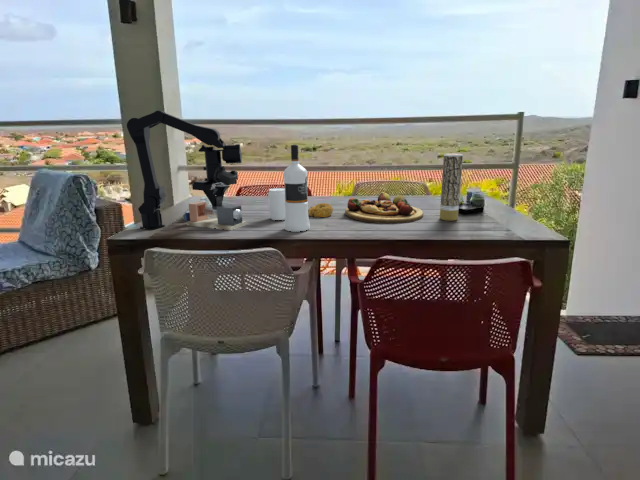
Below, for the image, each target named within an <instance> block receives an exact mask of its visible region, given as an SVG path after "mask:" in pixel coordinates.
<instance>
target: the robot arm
mask: <svg viewBox="0 0 640 480" xmlns="http://www.w3.org/2000/svg"><path fill="white" fill-rule="evenodd" d="M159 124H163V125H165V126H168V127H171V128H173V129H176V130H179V131H181V132H184V133H186V134H188V135H191V136H193V137H194V138H196V139H197V140H199V141H200V142H202V143H203V144H202V145H201V147H200V148H199V149H198V152H200V153H203V152H204V161H205V163H204V164H205V166H203V171H205V172H206V173H205V174H206V177H204V180H196V181H193V182H192V184H191V187H192V190H193V191H203V193H204V195H205V196H207V198H208V199H209V201H210V202H211V204H212V205H211V207H212V206H213V207H215V206H216V196H222V202H223V201H224V196H225V193H226V191H227V190H228V189H229V188H230V187H231V186H233V185H236V184H238V182H237V180H238V179H239V174H238V171H237V170H234V169H233V170H231V171H226V167H225V166H224V165H222V164H223V163H222V162H225V164H227V165H228V164H242V163H243V154H242V150H241V144H239V143H238V144H226V142H224V140H223V139H222V138H221V134H220V132H219V131H218V130H217V129H215V128H213V127H212V128H211V127H206V126H202V125H196V124H195V123H191V122H189V121H187V120H184V119H181V118H179V117H176V116H174V115H172V114H169V113H167V112H166V111H163V110H155V111H154V112H151V113H149V114H146V115H144V116H141V117H132V118H130V119H129V120H128V121H127V123H126V128H127V131H128V134H129V136H130V138H131V139H132V141H133V143H134V144H135V148H136V152H137V157H138V162H139V166H140V170H141V171H140V172H141V175H142V179H143V184H144V185H143V186H144V187H143V194H142V195H143V203H141V205H140V206H139V207H138V208H137V209H138V210H137V211H138V212H139V214H140V217H141V222H142V223H141V224H142V225H141V226H139V229H142V228H145V229H144V230H149V229H153V230H156V228H157V229H159V228H163V227H165V226H166V224H163V218H162V213H161V210H160V209H161V205H163V204H164V202H165V201H166V197H167V194H166V193H165V187H164V185H162V186H160V184H159V183H158V181H157V180H158V179H157V175H156V170H155V166H154V161H153V157H152V151H151V147H150V139H151V138H150V137H151V131H150V130H151V129H152V128H154V127H157V125H159ZM215 147H216V148H215Z"/></svg>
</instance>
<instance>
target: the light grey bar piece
mask: <svg viewBox="0 0 640 480" xmlns="http://www.w3.org/2000/svg"><path fill="white" fill-rule="evenodd" d="M199 201H204V202H206V204H207V207H212V204H211V202H210V201H209V199H208V198H207V196H206V195H205V196H202V197H200V200H199ZM182 217H183V218H182V219H183V220H184V221H185V222H189V221H190V213H189V208H187V210H185V212H184V214H183V215H182Z"/></svg>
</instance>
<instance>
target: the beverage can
mask: <svg viewBox="0 0 640 480" xmlns="http://www.w3.org/2000/svg"><path fill="white" fill-rule="evenodd" d="M268 190H269V191H268V193H267V199H268V215H269V217H268V218H269V219H270V220H272V221H275V220H282V221H285V187H275V188H270V189H268Z"/></svg>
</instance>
